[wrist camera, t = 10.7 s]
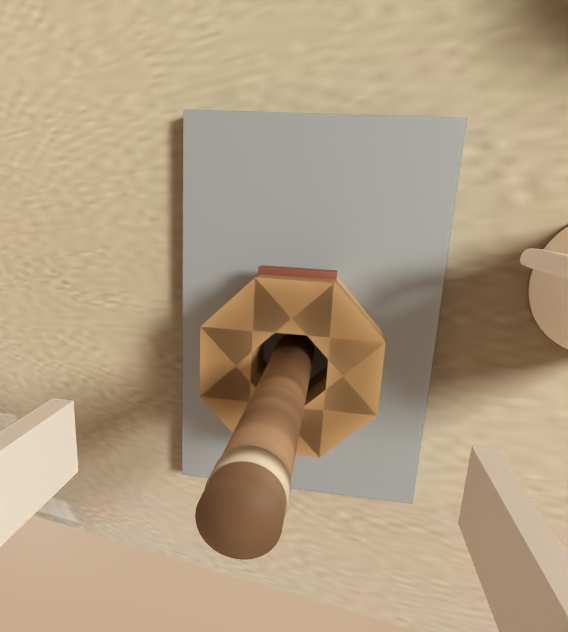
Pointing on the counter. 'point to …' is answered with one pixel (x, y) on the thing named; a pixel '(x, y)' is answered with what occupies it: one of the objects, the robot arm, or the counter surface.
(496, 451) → the robot arm
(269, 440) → the brown cigar
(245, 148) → the board
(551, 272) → the mug
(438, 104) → the counter surface
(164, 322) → the counter surface
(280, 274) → the bead
